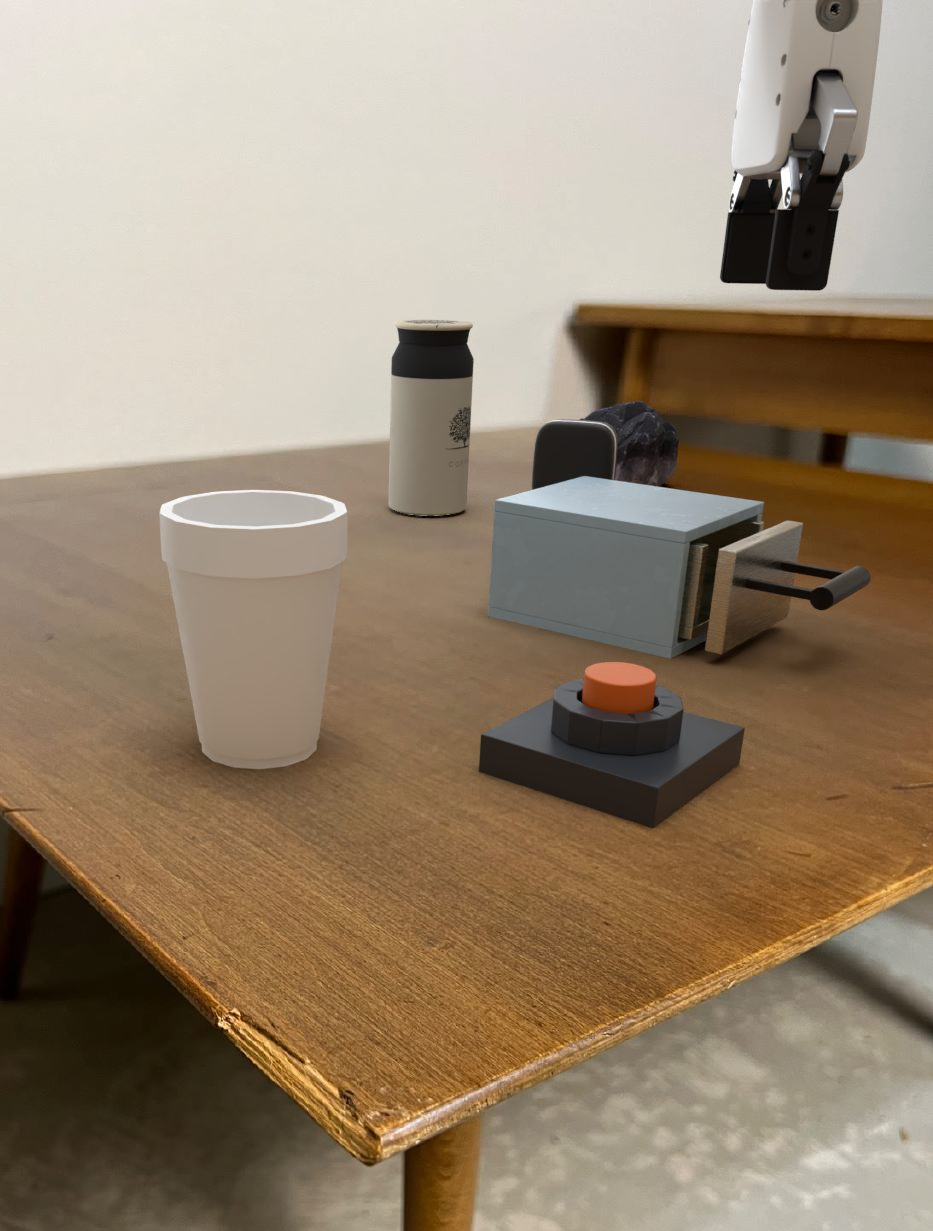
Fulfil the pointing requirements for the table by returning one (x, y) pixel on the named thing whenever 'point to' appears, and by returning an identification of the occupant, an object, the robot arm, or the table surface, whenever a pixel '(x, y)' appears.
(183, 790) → the table surface
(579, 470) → the battery charger
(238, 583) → the foam cup
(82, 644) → the table surface
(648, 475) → the crystal cluster
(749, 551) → the metal drawer
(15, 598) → the table surface
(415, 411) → the travel mug
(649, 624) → the light blue drawer box
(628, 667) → the button
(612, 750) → the control block
